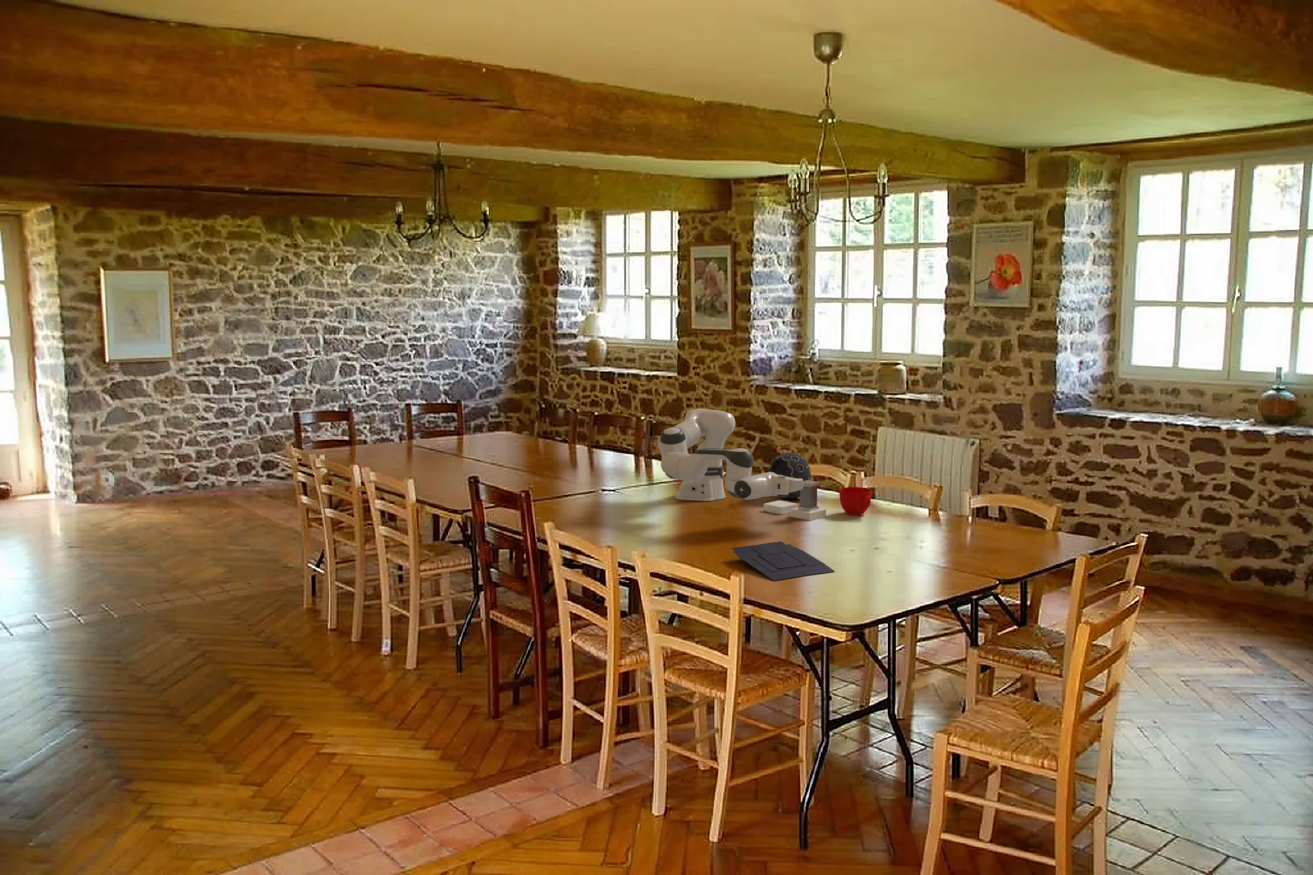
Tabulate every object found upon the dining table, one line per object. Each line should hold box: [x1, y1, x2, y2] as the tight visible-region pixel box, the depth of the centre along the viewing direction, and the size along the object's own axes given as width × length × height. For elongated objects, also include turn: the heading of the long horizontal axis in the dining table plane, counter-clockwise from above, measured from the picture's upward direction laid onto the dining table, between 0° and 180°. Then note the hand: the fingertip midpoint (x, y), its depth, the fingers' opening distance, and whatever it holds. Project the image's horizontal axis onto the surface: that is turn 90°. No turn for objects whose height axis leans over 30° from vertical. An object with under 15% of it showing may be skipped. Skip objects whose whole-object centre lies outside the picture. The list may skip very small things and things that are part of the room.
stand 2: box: [790, 507, 827, 521], centre depth 424 cm, size 10×10×3 cm
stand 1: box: [763, 500, 799, 515], centre depth 435 cm, size 10×10×3 cm
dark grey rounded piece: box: [768, 452, 812, 500], centre depth 459 cm, size 11×20×20 cm, turn 31°
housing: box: [798, 480, 820, 512], centre depth 423 cm, size 6×6×11 cm
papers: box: [730, 540, 835, 582], centre depth 351 cm, size 24×30×4 cm
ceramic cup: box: [838, 486, 872, 517], centre depth 426 cm, size 13×17×10 cm
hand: (792, 478), depth 413 cm, fingers open, 8 cm apart
